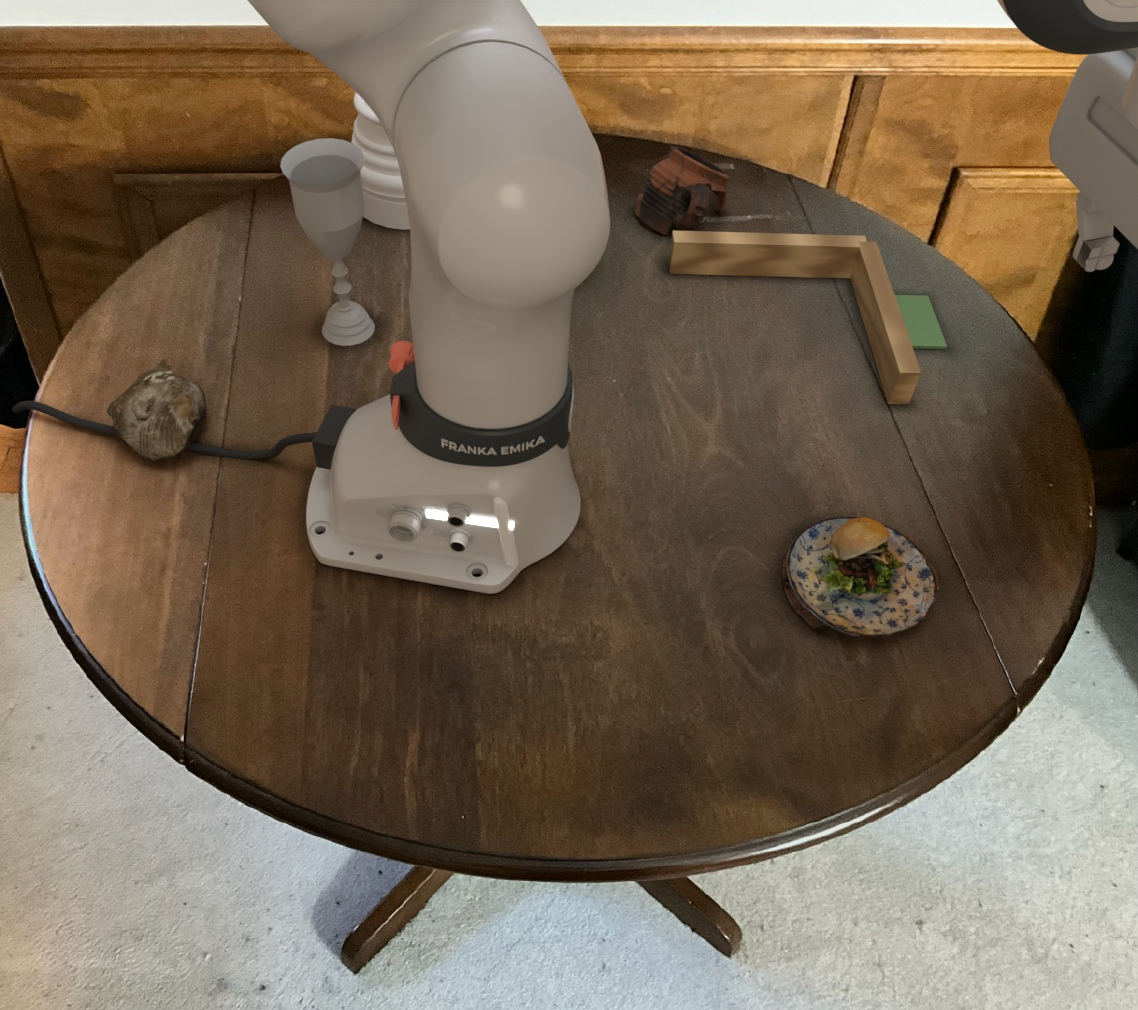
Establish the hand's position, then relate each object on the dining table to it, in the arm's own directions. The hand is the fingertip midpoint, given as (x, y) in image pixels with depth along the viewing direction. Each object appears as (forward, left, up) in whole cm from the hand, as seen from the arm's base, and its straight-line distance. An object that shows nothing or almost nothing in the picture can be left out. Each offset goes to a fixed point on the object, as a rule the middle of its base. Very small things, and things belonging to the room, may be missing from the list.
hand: (1133, 311), depth 60 cm
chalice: (-53, +31, -29) cm, 68 cm away
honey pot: (-49, +54, -29) cm, 78 cm away
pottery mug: (-19, +51, -29) cm, 62 cm away
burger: (-9, +1, -29) cm, 30 cm away
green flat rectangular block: (+3, +34, -29) cm, 45 cm away
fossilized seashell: (-67, +17, -29) cm, 75 cm away
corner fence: (-10, +33, -29) cm, 45 cm away
